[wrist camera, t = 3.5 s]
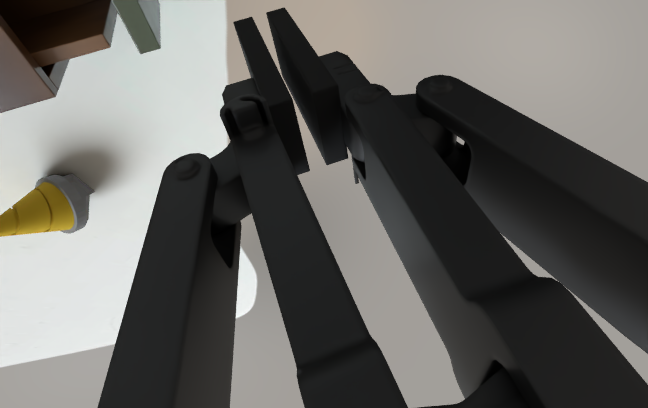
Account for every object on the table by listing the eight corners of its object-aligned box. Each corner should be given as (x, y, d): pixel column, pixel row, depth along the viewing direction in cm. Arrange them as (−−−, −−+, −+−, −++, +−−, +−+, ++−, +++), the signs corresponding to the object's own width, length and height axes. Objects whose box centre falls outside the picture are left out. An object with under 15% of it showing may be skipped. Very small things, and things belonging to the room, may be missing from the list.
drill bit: (87, 214, 39) (-28, 264, 30) (68, 165, 37) (-61, 203, 28) (121, 218, 36) (6, 273, 28) (103, 165, 34) (-26, 207, 26)
